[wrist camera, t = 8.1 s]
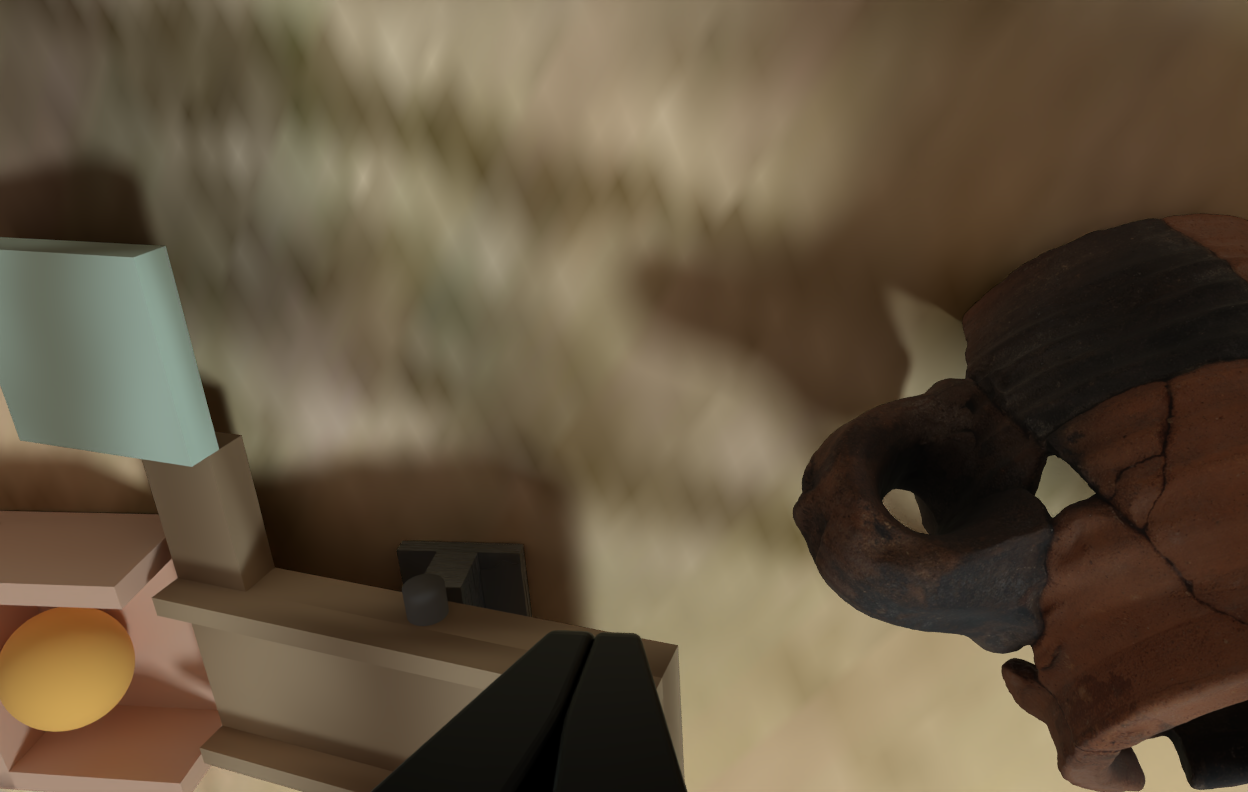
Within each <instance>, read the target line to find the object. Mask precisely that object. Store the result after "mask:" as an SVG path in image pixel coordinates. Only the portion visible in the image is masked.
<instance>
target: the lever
mask: <svg viewBox="0 0 1248 792" xmlns="http://www.w3.org/2000/svg"><path fill="white" fill-rule="evenodd" d="M0 386H1V388H2V391H3V394H4V397H5V400H6V402H7V405H8V408H9V411H10V414H11V416H12V419H13V422H14V425H15V428H16V430H17V433H18V436H19V439H20V440H21V441H28V442H34V443H41V444H47V445H54V446H60V447H67V448H73V449H80V450H86V451H93V452H99V453H106V454H112V455H119V456H125V457H132V458H138V459H142V461H143V464H144V467H145V471H146V474H147V477H148V481H149V484H150V487H151V491H152V494H153V497H154V501H155V504H156V507H157V511H158V514H159V517H160V520H161V524H162V527H163V530H164V534H165V537H166V540H167V544H168V547H169V550H170V554H171V557H172V560H173V564H174V567H175V570H176V574H177V577H178V578H177V579H176V580H174V581H173V582H172V583H170V584H169V585H168V586H166V587H165V588H164V589H162V590H161V591H160V592H158V593H157V594H156V595H154V596H153V597H152V600H153V603H154V607H155V610H156V613H157V616H161V617H166V618H170V619H175V620H179V621H184V622H188V623H192V627H193V630H194V633H195V637H196V640H197V643H198V647H199V650H200V653H201V656H202V660H203V663H204V666H205V670H206V673H207V676H208V680H209V683H210V686H211V690H212V693H213V696H214V700H215V703H216V706H217V710H218V713H219V716H220V719H221V723H222V726H221V727H220V728H219V729H218V730H217V731H216V732H215V733H214V734H213V735H212V736H211V737H210V738H209V739H208V740H207V741H206V742H205V743H204V744H203V745H202V746H201V747H200V751H201V754H202V757H203V761H204V763H206V764H209V765H212V766H216V767H219V768H223V769H226V770H230V771H233V772H237V773H240V774H244V775H247V776H250V777H254V778H257V779H261V780H264V781H268V782H271V783H275V784H278V785H282V786H285V787H288V788H292V789H295V790H299V791H302V792H370V791H372V790H373V789H374V788H375V787H376V786H377V785H378V784H379V783H381V782H382V781H383V780H384V779H385V778H386V777H387V776H388V775H389V774H391V773H392V772H393V771H394V770H395V769H396V768H397V767H398V766H400V765H401V764H402V763H403V762H404V761H405V760H406V759H407V758H408V757H410V756H411V755H412V754H413V753H414V752H415V751H416V750H417V749H419V748H420V747H421V746H422V745H423V744H424V743H425V742H426V741H428V740H429V739H430V738H431V737H432V736H433V735H434V734H435V733H436V732H438V731H439V730H440V729H441V728H442V727H443V726H444V725H445V724H447V723H448V722H449V721H450V720H451V719H452V718H453V717H454V716H455V715H457V714H458V713H459V712H460V711H461V710H462V709H463V708H464V707H466V706H467V705H468V704H469V703H470V702H471V701H472V700H473V699H474V698H476V697H477V696H478V695H479V694H480V693H481V692H482V691H483V690H485V689H486V688H487V687H488V686H489V685H490V684H491V683H492V682H493V681H495V680H496V679H497V678H498V677H499V676H500V675H501V674H502V673H504V672H505V671H506V670H507V669H508V668H509V667H510V666H511V665H512V664H514V663H515V662H516V661H517V660H518V659H519V658H520V657H521V656H523V655H524V654H525V653H526V652H527V651H528V650H529V649H530V648H531V647H533V646H534V645H535V644H536V643H537V642H538V641H539V640H540V639H542V638H543V637H544V636H545V635H546V634H547V633H549V632H551V631H554V630H568V631H588V632H591V633H592V634H593V635H594V636H596V635H597V634H599V633H601V632H606V631H601V630H595V629H590V628H585V627H580V626H575V625H570V624H564V623H559V622H554V621H549V620H544V619H538V618H533V617H528V616H523V615H518V614H513V613H507V612H502V611H497V610H492V609H487V608H482V607H476V606H471V605H466V604H461V603H456V602H451V601H448V600H447V594H446V588H445V582H444V579H443V578H442V577H441V576H439V575H436V574H422V575H418V576H415V577H413V578H411V579H409V580H408V581H406V582H405V583H404V585H403V587H402V592H399V591H394V590H388V589H383V588H378V587H373V586H368V585H363V584H357V583H352V582H347V581H342V580H337V579H332V578H326V577H321V576H316V575H311V574H306V573H300V572H295V571H290V570H285V569H280V568H275V567H274V563H273V559H272V555H271V551H270V547H269V543H268V539H267V535H266V531H265V527H264V523H263V519H262V515H261V511H260V507H259V503H258V499H257V495H256V491H255V487H254V483H253V479H252V475H251V471H250V467H249V463H248V459H247V455H246V451H245V447H244V443H243V439H242V435H237V434H229V433H222V432H215V431H214V428H213V424H212V420H211V417H210V413H209V409H208V405H207V401H206V398H205V394H204V390H203V386H202V382H201V379H200V375H199V371H198V367H197V363H196V360H195V356H194V352H193V348H192V344H191V341H190V337H189V333H188V329H187V325H186V322H185V318H184V314H183V310H182V306H181V303H180V299H179V295H178V291H177V287H176V284H175V280H174V276H173V272H172V268H171V265H170V261H169V257H168V253H167V249H166V246H158V245H140V244H121V243H102V242H83V241H64V240H45V239H26V238H7V237H0ZM641 640H642V643H643V646H644V649H645V653H646V656H647V659H648V663H649V666H650V669H651V673H652V676H653V679H654V682H655V686H656V689H657V692H658V696H659V699H660V702H661V706H662V709H663V712H664V716H665V719H666V722H667V726H668V729H669V732H670V736H671V739H672V742H673V746H674V749H675V752H676V756H677V759H678V762H679V765H680V769H681V772H682V775H683V779H684V759H683V738H682V717H681V696H680V675H679V654H678V645H673V644H668V643H663V642H657V641H652V640H647V639H642V638H641ZM684 782H685V780H684Z"/></svg>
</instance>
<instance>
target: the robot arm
mask: <svg viewBox="0 0 1248 792" xmlns="http://www.w3.org/2000/svg"><path fill="white" fill-rule="evenodd" d="M370 792H687V789H686V785H685V782H684V779H683V775H682V772H681V769H680V765H679V762H678V759H677V756H676V752H675V749H674V746H673V742H672V739H671V736H670V732H669V729H668V726H667V722H666V719H665V716H664V712H663V709H662V706H661V702H660V699H659V696H658V692H657V689H656V686H655V682H654V679H653V676H652V673H651V669H650V666H649V663H648V659H647V656H646V653H645V649H644V646H643V643H642V640H641V638H640V636H639V635H637V634H634V633H614V632H601V633H599V634H597V635H596V636H594V635H593V634H592V633H591V632H588V631H568V630H554V631H551V632H549V633H547V634H546V635H545V636H544V637H543V638H542V639H540V640H539V641H538V642H537V643H536V644H535V645H534V646H533V647H531V648H530V649H529V650H528V651H527V652H526V653H525V654H524V655H523V656H521V657H520V658H519V659H518V660H517V661H516V662H515V663H514V664H512V665H511V666H510V667H509V668H508V669H507V670H506V671H505V672H504V673H502V674H501V675H500V676H499V677H498V678H497V679H496V680H495V681H493V682H492V683H491V684H490V685H489V686H488V687H487V688H486V689H485V690H483V691H482V692H481V693H480V694H479V695H478V696H477V697H476V698H474V699H473V700H472V701H471V702H470V703H469V704H468V705H467V706H466V707H464V708H463V709H462V710H461V711H460V712H459V713H458V714H457V715H455V716H454V717H453V718H452V719H451V720H450V721H449V722H448V723H447V724H445V725H444V726H443V727H442V728H441V729H440V730H439V731H438V732H436V733H435V734H434V735H433V736H432V737H431V738H430V739H429V740H428V741H426V742H425V743H424V744H423V745H422V746H421V747H420V748H419V749H417V750H416V751H415V752H414V753H413V754H412V755H411V756H410V757H408V758H407V759H406V760H405V761H404V762H403V763H402V764H401V765H400V766H398V767H397V768H396V769H395V770H394V771H393V772H392V773H391V774H389V775H388V776H387V777H386V778H385V779H384V780H383V781H382V782H381V783H379V784H378V785H377V786H376V787H375V788H374V789H373V790H372V791H370Z"/></svg>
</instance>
